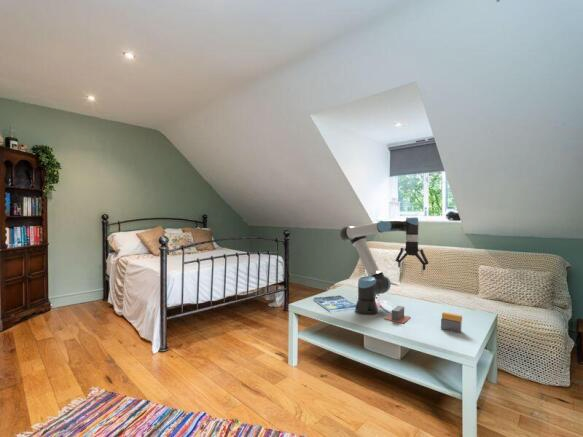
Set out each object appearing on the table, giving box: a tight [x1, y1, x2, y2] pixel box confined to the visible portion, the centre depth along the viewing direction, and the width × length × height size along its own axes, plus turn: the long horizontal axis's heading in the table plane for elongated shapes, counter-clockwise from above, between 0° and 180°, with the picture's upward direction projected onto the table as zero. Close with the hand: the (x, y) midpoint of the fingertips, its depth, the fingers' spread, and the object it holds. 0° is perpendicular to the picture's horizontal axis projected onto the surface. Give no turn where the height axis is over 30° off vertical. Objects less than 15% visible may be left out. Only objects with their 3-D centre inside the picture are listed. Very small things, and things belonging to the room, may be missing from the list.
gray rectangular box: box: [440, 317, 463, 334], centre depth 178 cm, size 10×4×6 cm, turn 52°
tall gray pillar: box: [391, 305, 405, 321], centre depth 197 cm, size 4×12×6 cm, turn 142°
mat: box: [384, 313, 412, 324], centre depth 198 cm, size 12×14×1 cm
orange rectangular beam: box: [441, 311, 463, 323], centre depth 178 cm, size 10×3×3 cm, turn 52°
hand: (411, 273), depth 199 cm, fingers open, 13 cm apart
